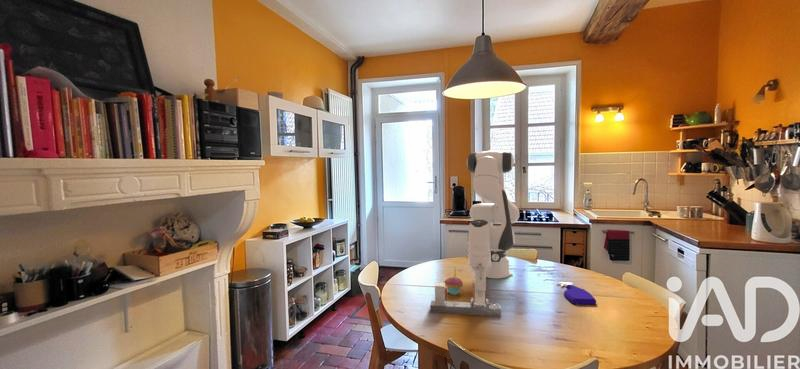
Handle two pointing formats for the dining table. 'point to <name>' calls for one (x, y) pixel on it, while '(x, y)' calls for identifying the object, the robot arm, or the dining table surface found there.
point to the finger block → (475, 295)
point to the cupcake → (453, 284)
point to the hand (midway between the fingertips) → (479, 294)
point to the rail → (461, 305)
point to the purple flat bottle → (577, 294)
